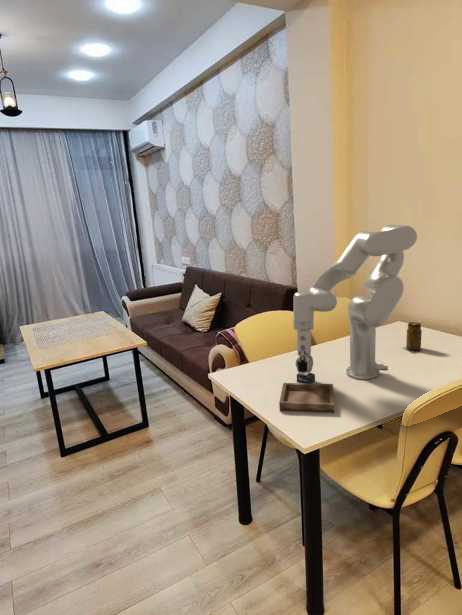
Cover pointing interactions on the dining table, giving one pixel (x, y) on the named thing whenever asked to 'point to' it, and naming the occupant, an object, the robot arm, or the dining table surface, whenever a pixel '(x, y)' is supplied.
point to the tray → (307, 397)
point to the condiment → (414, 338)
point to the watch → (306, 376)
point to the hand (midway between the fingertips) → (303, 366)
